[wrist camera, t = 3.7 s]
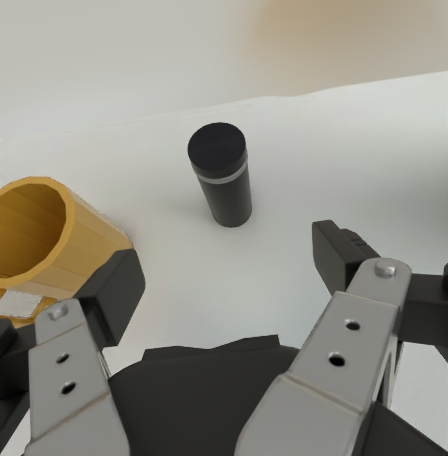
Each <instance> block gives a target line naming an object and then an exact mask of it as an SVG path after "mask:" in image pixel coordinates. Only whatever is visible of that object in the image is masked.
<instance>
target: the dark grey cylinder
mask: <svg viewBox="0 0 448 456" xmlns="http://www.w3.org/2000/svg"><path fill="white" fill-rule="evenodd" d="M188 156H189V158H190V161H191V165H192V167H193V170H194V172H195V174H196V175H197V177H198V180H199V182H200V185H201V187H202V189H203V192H204V194H205V197H206V199H207V202H208V204H209V206H210V209H211V211H212V214H213V216H214V218H215V220H216V221H217V222H218V223H219V224H221V225H223V226H225V227H237V226H240V225H242V224H243V223H245V222H246V221H247V220H248V219H249V217H250V215H251V212H252V204H251V194H250V183H249V172H248V162H247V161H248V154H247V148H246V141H245V137H244V135H243V133H242V132H241V131H240V130H239V129H238V128H237V127H235V126H234V125H231V124H228V123H221V122H218V123H211V124H208V125H205V126H203V127H202V128H200V129H199V130H197V131H196V132H195V133H194V134H193V136H192V137H191V139H190V141H189V144H188Z"/></svg>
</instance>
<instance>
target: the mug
mask: <svg viewBox="0 0 448 456" xmlns="http://www.w3.org/2000/svg"><path fill="white" fill-rule="evenodd" d="M130 248H133V244H132V242H131V240H130V238H129V237H128V235H127V234H126V233H125V232H124V231H123V230H122V229H121V228H120V227H119V226H117V225H116V224H115V223H113V222H112V221H111V220H109V219H108V218H107V217H105V216H104V215H103V214H102V213H100V212H99V211H98V210H96V209H95V208H94V207H92V206H91V205H90V204H88V203H87V202H86V201H84V200H83V199H82V198H81V197H79V196H78V195H77V194H75V193H74V192H73V191H71V190H70V189H69V188H67V187H66V186H65V185H63V184H61V183H60V182H58V181H56V180H54V179H52V178H50V177H26V178H23V179H20V180H17V181H14V182H11V183H9V184H7V185H6V186H4V187H3V188H1V189H0V299H1V297H2V296H3V295H4V294H5V292H6V291H12V292H17V293H23V294H28V295H34V296H39V297H43V299H42V300H41V301H40V303H39V304H38V306H37V307H36V308H35V310H34V311H33V312H32V314H31V315H30V317H18V316H6V315H0V319H2V318H8V319H10V320H11V322H12V324H13V325H14V327H15V329H17V328H20V327H23V326H26V325H29V324H32V323H35V318H36V316H37V315H38V314H39V313H40V312H41V311H42V310H43V309H45V308H46V307H48V306H49V305H51V304H53V303H55V302H56V301H57V300H63V299H68V298H72V297H73V296H74V294H75V293H76V292H77V291H78V290H79V289H80V288H81V286H82V285H83V284H84V283H86V281H87V279H88V278H89V277H91V275H92V274H93V272H94V271H95V270H96V269H97V268H99V267H100V266H102V265H103V264H104V263H106V262H107V260H108V259H109V258H110V257H111V256H112V254H113V253H114V252H115V251H117V250H123V249H130ZM133 249H134V248H133Z"/></svg>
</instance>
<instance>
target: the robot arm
mask: <svg viewBox="0 0 448 456" xmlns="http://www.w3.org/2000/svg"><path fill="white" fill-rule="evenodd" d="M312 241H313V257H314V263H315V266H316V268H317V270H318V272H319V274H320V276H321V278H322V279H323V281H324V283H325V285H326V287H327V288H328V290H329V292H330V294H331V296H332V298H331V300H330V301H329V303H328V305H327V306H326V308H325V310H324V311H323V313H322V315H321V316H320V318H319V320H318V321H317V323H316V325H315V326H314V328H313V330H312V331H311V333H310V335H309V336H308V338H307V339H306V341H305V343H304V344H303V346H302V348H301V349H297V348H294V347H289V346H283V345H280V343H279V338H278V334H277V335H268V336H260V337H251V338H243V339H240V340H237V341H234V342H231V343H228V344H225V345H222V346H218V347H215V348H212V349H201V348H192V347H183V346H171V347H162V348H153V349H145V352H144V355H143V357H142V360H141V361H139V362H137V363H134V364H132V365H130V366H128V367H126V368H124V369H122V370H121V371H119V372H117V373H116V374H114V375H113V376H112V375H111V373H110V370H109V368H108V365H107V363H106V360H105V358H104V355H103V353H102V350H103V348H104V347H113V346H118V344H119V342H120V340H121V338H122V336H123V334H124V332H125V330H126V328H127V326H128V324H129V321H130V319H131V317H132V315H133V313H134V311H135V309H136V307H137V305H138V303H139V301H140V299H141V297H142V295H143V293H144V290H145V278H144V274H143V271H142V268H141V265H140V262H139V259H138V256H137V253H136V251H135V250H134V249H133V248H130V249H123V250H117V251H115V252H114V253H113V254H112V256H111V257H110V258H109V259H108V260H107V262H106V263H104V264H103V265H102V266H100V267H99V268H97V269H96V270H95V271H94V272H93V274H92V275H91V277H89V278H88V279H87V281H86V283H84V284H83V285H82V286H81V288H80V289H79V290H78V291H77V292H76V293H75V294H74V296H73V297H72V298H68V299H63V300H60V301H57V302H55V303H53V304H51V305H49V306H48V307H46V308H45V309H43V310H42V311H41V312H40V313H39V314H38V315H37V316H36V318H35V323H32V324H29V325H26V326H23V327H20V328H17V329H15V327H14V325H13V324H12V322H11V320H10V319H8V318H2V319H0V454H1V452H2V451H3V449H4V447H5V446H6V444H7V443H8V441H9V439H10V438H11V436H12V435H13V433H14V431H15V430H16V428H17V427H18V425H19V424H20V422H21V420H22V419H23V417H24V416H25V414H26V412H27V411H28V409H29V408H30V423H31V440H30V442H29V443H28V444H27V445H26V447H25V450H24V453H23V454H22V455H21V456H448V452H447V451H446V450H445V449H443V448H442V447H440V446H439V445H438V444H436V443H435V442H434V441H432V440H431V439H429V438H428V437H427V436H425V435H424V434H423V433H421V432H420V431H418V430H417V429H416V428H414V427H413V426H412V425H410V424H409V423H407V422H406V421H405V420H403V419H402V418H401V417H399V416H398V415H396V414H395V413H394V412H392V411H391V410H390V407H391V401H392V394H393V389H394V384H395V380H396V376H397V372H398V368H399V363H400V359H401V355H402V351H403V347H404V342H412V343H419V344H427V345H434V346H435V347H436V349H437V350H438V351H439V352H440V354H441V355H442V356H443V358H444V359H445V360H446V361H447V363H448V263H447V264H446V265H445V266H444V272H443V275H426V274H414V273H412V270H411V268H410V267H409V266H408V265H407V264H405V263H403V262H401V261H399V260H395V259H391V258H382V257H381V256H380V255H379V254H377V253H376V252H375V251H374V250H373V249H372V248H371V247H370V246H369V245H367V243H366V242H365V241H364V240H362V238H361V237H360V236H359V235H358V234H356V233H355V232H352V231H350V230H348V229H340V228H339V227H338V226H337V225H336V224H335V223H334V222H333V221H332V220H324V221H317V222H313V223H312Z"/></svg>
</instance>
